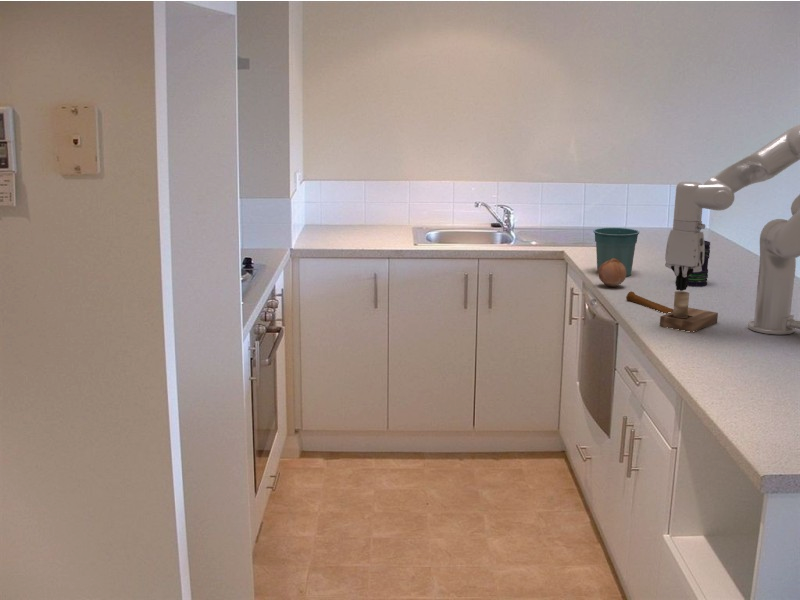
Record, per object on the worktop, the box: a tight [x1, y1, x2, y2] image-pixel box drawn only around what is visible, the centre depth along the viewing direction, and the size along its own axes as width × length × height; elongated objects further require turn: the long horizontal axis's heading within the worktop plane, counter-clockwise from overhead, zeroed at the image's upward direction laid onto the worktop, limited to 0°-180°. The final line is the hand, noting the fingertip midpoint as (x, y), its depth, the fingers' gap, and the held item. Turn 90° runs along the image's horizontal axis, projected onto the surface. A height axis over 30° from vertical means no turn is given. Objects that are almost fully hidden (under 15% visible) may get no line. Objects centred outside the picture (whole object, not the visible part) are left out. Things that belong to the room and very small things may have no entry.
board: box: [659, 307, 719, 333], centre depth 275 cm, size 10×16×3 cm, turn 137°
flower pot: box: [593, 227, 641, 277], centre depth 344 cm, size 16×16×16 cm
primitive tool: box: [625, 291, 674, 314], centre depth 297 cm, size 19×6×4 cm, turn 31°
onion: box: [597, 258, 627, 288], centre depth 324 cm, size 10×9×10 cm
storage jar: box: [683, 240, 711, 288], centre depth 329 cm, size 10×10×15 cm
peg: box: [672, 290, 690, 320], centre depth 272 cm, size 4×4×10 cm
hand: (681, 289), depth 271 cm, fingers closed
